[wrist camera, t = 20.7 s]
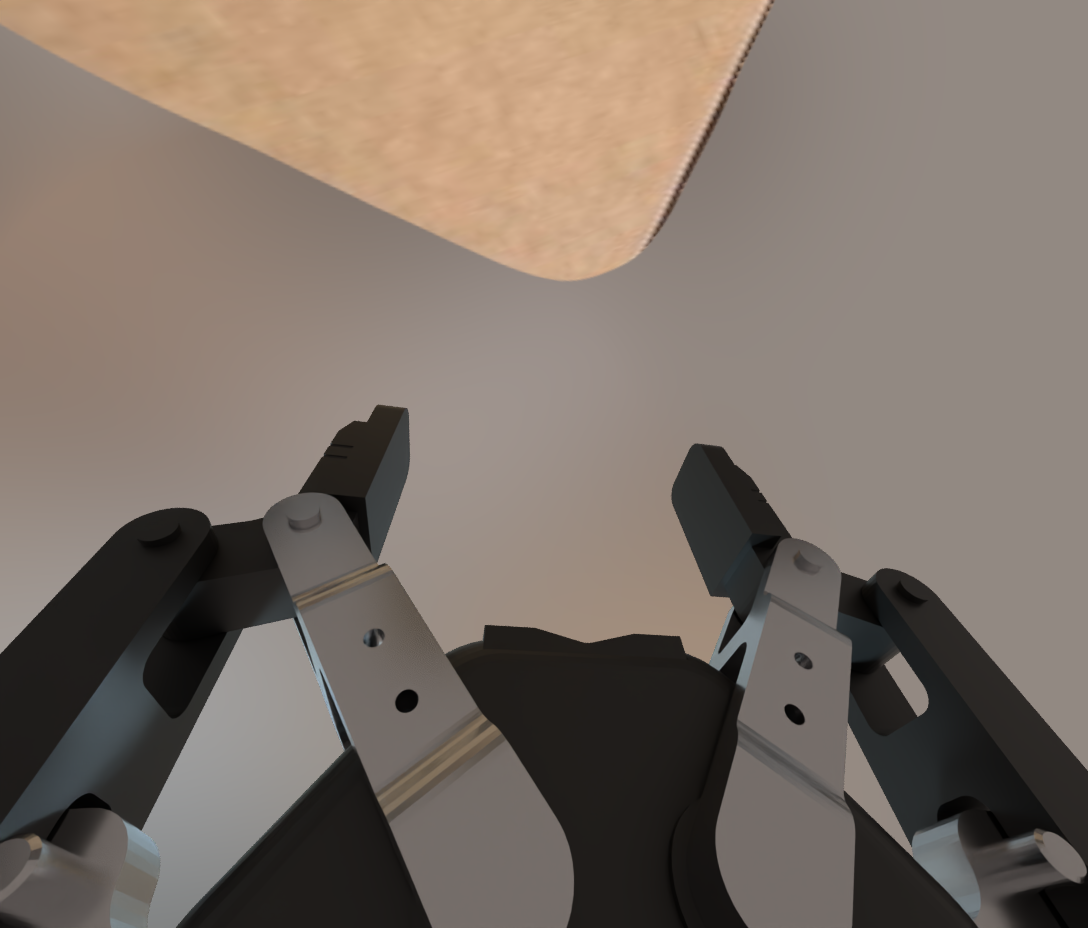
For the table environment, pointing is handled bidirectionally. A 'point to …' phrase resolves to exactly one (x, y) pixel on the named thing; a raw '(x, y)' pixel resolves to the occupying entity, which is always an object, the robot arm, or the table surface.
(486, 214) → the table surface
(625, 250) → the table surface
